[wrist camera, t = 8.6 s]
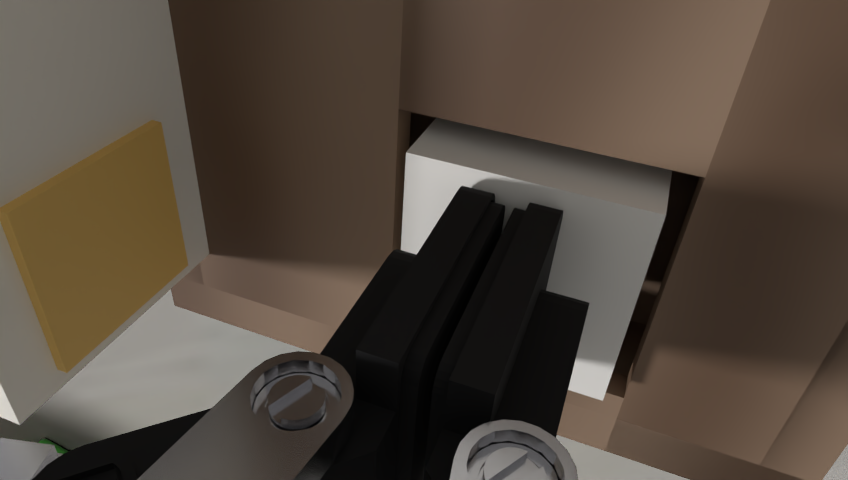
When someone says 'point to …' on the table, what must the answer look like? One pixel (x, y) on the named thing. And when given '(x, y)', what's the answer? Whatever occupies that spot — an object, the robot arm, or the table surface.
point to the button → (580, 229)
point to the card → (87, 184)
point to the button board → (567, 126)
